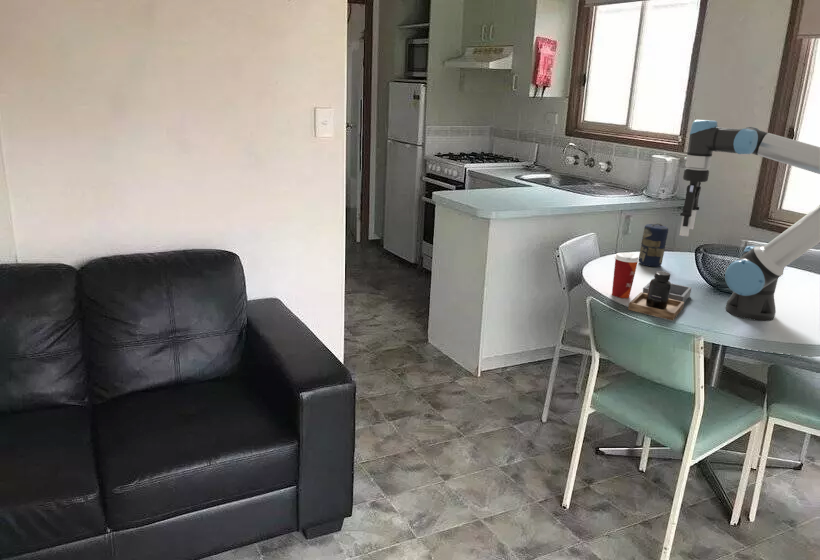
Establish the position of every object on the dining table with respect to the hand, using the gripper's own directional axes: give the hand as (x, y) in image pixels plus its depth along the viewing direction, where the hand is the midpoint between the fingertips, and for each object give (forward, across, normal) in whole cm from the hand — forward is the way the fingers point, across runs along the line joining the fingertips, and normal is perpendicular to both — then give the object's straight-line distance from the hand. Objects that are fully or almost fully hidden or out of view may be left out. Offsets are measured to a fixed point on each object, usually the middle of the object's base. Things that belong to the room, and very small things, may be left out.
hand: (686, 232), depth 214 cm
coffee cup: (+26, +2, -18) cm, 31 cm away
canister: (+25, -49, -17) cm, 58 cm away
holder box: (+26, -8, -4) cm, 27 cm away
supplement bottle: (+25, +9, -5) cm, 27 cm away
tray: (+26, +9, -5) cm, 28 cm away
